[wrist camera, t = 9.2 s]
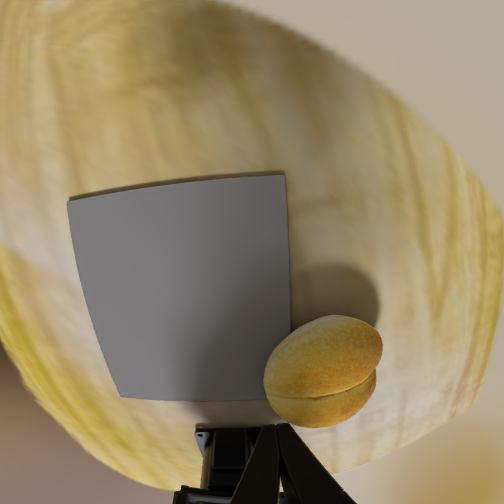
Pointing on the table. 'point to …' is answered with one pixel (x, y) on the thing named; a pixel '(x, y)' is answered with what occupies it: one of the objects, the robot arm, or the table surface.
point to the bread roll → (323, 371)
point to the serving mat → (187, 285)
